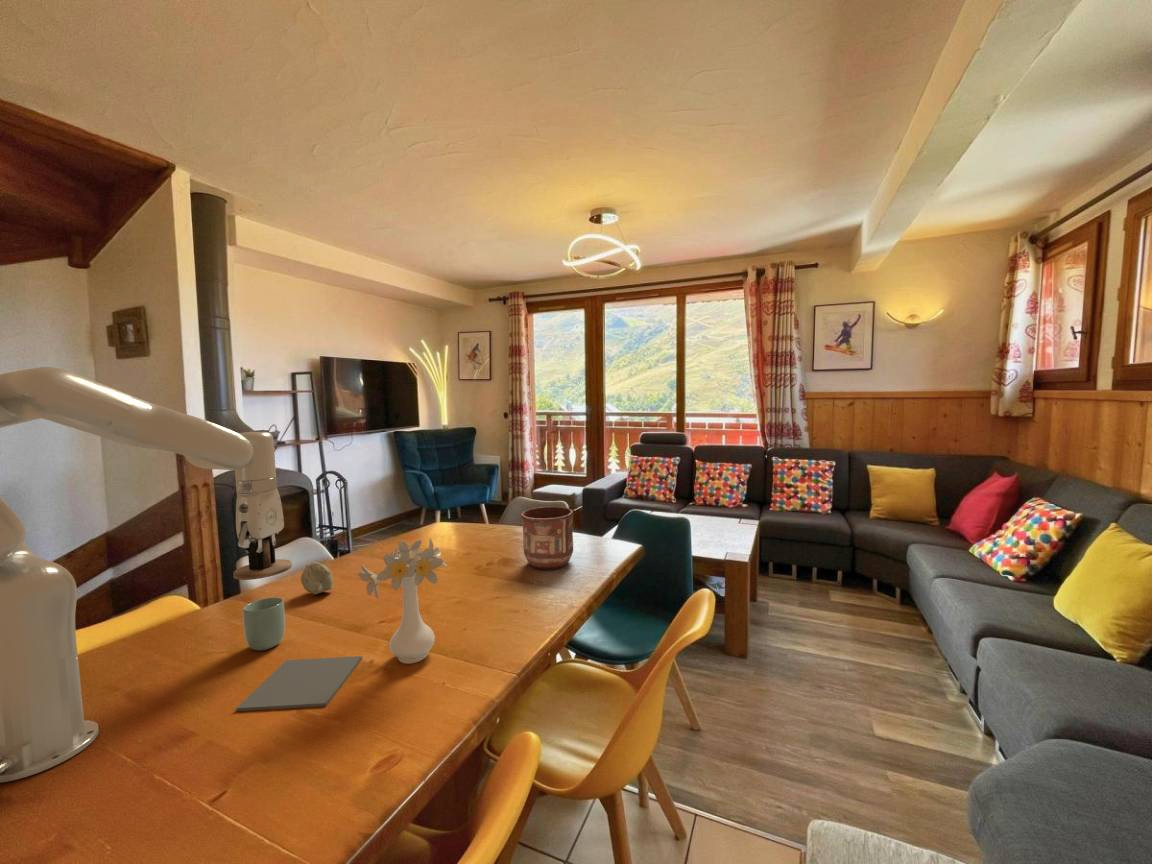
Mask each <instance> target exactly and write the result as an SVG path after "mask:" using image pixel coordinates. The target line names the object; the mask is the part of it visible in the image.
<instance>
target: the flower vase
mask: <svg viewBox="0 0 1152 864" xmlns="http://www.w3.org/2000/svg"><path fill="white" fill-rule="evenodd" d="M428 539H429V543H428V544H429V547H428V548H425V549H424V550H423V551H420V550H419V549H420V547H421V545H422V540H419V539H418V540H416V541H414V542H413V544H411V546H409V544H408V543H407V542H406V541H404V540H400V541H399V542H398V543H397V546H396V548H395V551H391V554H388V553H387V554H384V555H383V563H384V564H385V566H386V567H384V569H383V570H382V571H380V572H379V573H378V574H377V573H374V572H372V571H371V570H369V569H367V568H366V566H364V565H363V564H361V565H360V567H361V570H362V571H363V572H358V573H357V574H358V575H357V576H358V577H359V578H360V579H361V580H362V581H364V582H368V583H367V584H366V593H367V595H368V596H372V594H373V592H374V596H375V597H376V599H377V600H379V598H380V597H379V585H380V584H379V583H380V582H381V581H387V580H390V579H391V582H390V583H391V588H392V590H393V591H398V590H399V588H400V587H401V588H402V616H401V617H402V618H401V622H400V624H399V627H398V628H397V630H396V631H395V632H394V633H393V635H392V637H391V638H390V641H389V651H390V653H391V654H392V655H393V656H394V657H396V658H397V660H398V661H399V662H400V663H401V664H404V665H405V664H407V665H408V664H409V665H410V664H416V663H419V662H421V661H424V660H425V659H426V657H427V656H428V654H429V651H430V650H431V649H432V648H433V646H434V644H435V641H436V637H435V633H434V631H433V630H432V628H431V627H430V626H429V625H428V624H426V623H425V622H424V620H423V619H422V617H421V613H420V610H419V609H420V608H419V598H418V586H419V585H421V584H422V583H423V581H424V579H425V580H427V581H428V582H429V583H431V584H436V583H438V577H437V574H436V573H435V571H433V570H436V569H438V568H439V567H441V566H445V567H448V565H447V564H446V561H444V560H443V559H442V558H441V555H442V551H441V550H440V548H438V547H434V542H433V541H432V538H431V537H429V538H428ZM398 550H399V551H398ZM408 565H409V566H408Z"/></svg>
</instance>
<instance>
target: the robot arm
mask: <svg viewBox="0 0 1152 864" xmlns="http://www.w3.org/2000/svg"><path fill="white" fill-rule="evenodd" d="M39 419H43V420H47V421H50V422H53V423H55V424H56V423H57V424H59V425H63V426H66V427H69V428H72V429H75V430H79V431H81V432H85V433H88V434H92V435H95V436H98V437H100V438H104V439H106V440H110V441H113V442H116V443H120V444H122V445H128V446H131V447H136V448H141V449H148V450H157V451H163V452H169V453H174V454H177V455H182V456H184V457H185V459H186V460H187V461H188V462H189V464H191V465H193V466H194V467H197V468H200V469H204V470H224V471H234V474H235V487H236V505H235V530H236V535H237V536H236V537H237V539H238V542H237V546H238V547H239V548H242V549H244V550H245V552H246V554H247V555H248V558H247V559H248V565H249V569H250V570H263V569H264V568H265V557H264V551H262V540H269V545H270V558H271V564H274V563H275V562H276V561H275V560H276V550H275V546H276V544H277V542H276V539H277V537H278V534H279V533H280V532H281V531H282V530H283V529H284V528H285V520H284V519H285V517H284V511H283V505H282V501H281V500H282V499H281V495H280V493H279V490H278V488H277V487H278V486H277V469H276V456H275V443H274V436H273V434H272V433H270V432H268V431H247V432H246V431H245V432H236V431H234V430H232V429H229V428H227V427H224V426H222V425H219V424H216V423H214V422H211V421H209V420H206V419H202V418H199V417H197V416H194V415H190V414H187V413H184V412H180V411H177V410H174V409H172V408H169V407H166V406H162V405H160V404H155V403H152V402H149V401H147V400H144V399H142V398H139V397H136V396H134V395H131V394H128V393H126V392H123V391H121V390H118V389H116V388H113V387H111V386H109V385H106V384H104V383H101V382H98V381H96V380H94V379H90V378H88V377H86V376H83V375H81V374H78V373H77V372H76V373H75V372H72V371H70V370H67V369H64V368H59V367H55V366H54V367H53V366H40V367H33V368H28V369H22V370H21V369H20V370H15V371H10V372H6V373H0V429H1V428H6V427H10V426H14V425H15V426H16V425H18V424H22V423H27V422H30V421H36V420H39ZM21 520H22V519H20V517H18V515H16V514H15V512H14V511H13V510H12V509H10V507H9V506H8V505H7V504H6V503H5V502H4V500H3V499H2V498H1V497H0V784H1V783H8V782H13V781H17V780H20V779H23V778H28V777H31V776H33V775H36V774H39V773H41V772H44V771H47V770H48V769H51V768H53V767H55V766H58V765H59V764H61V763H64V762H66V761H67V760H69V759H71V758H73V757H75V756H76V755H77V754H79V753H81V752H82V751H84V750H85V749H86V748H87V747H88V746H90V745H91V744H92V743H93V742H94V740H96V738H97V737H98V735H99V724H98V723H97V722H95V721H94V720H93V721H92V720H90V719H89V720H88V719H87V720H86V719H85V718H84V708H83V697H82V685H81V676H80V675H81V674H80V666H79V664H80V662H79V654H78V644H77V637H76V636H77V634H76V612H77V611H76V610H77V608H76V607H77V597H78V587H77V582H76V580H75V578H74V576H73V575H72V573H71V572H70V571H69V570H68V569H67V568H66V567H63V566H62V565H61V564H60V563H59V564H58V563H56V562H54V561H52V560H47V559H44V558H40V557H37V556H36V555H35V553H33V551H32V550H31V549H30V548H29V546H27V544H26V543H25V542H24V540H25V538H26V531H25V527H24V523H23V522H22V521H21ZM255 541H256V545H255V544H254V543H253V542H255Z"/></svg>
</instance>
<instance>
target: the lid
mask: <svg viewBox="0 0 1152 864" xmlns="http://www.w3.org/2000/svg"><path fill="white" fill-rule="evenodd" d="M252 543H254V544H255V545H256V541H253V542H252ZM262 551H264V557H265V568H264V569H263V570H250V569H249V564H247V565H243V566H241V567H239V568H237V569H235V570H234V571H233V574H232V575H233V578H234V579H235V580H241V581H248V580H249V581H250V580H259V579H266V578H269V577H273V576H277V575H279V574H282V573H284V572H287V571H288V570H290V569H291V568H292V565H293V564H292V561H291V560H290V559H284V558H282V559H280V558H279V559H276V558H275V561H276V562H275V563H274V564H271V558H270V545H269V540H262Z"/></svg>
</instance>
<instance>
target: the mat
mask: <svg viewBox="0 0 1152 864" xmlns="http://www.w3.org/2000/svg"><path fill="white" fill-rule="evenodd" d="M362 659H363V656H362V655H359V656H357V655H356V656H341V657H340V656H339V657H323V658H322V657H320V658H317V657H316V658H300V659H286V660H285V661H284V662H283V663H282V664H281V665H280V666H279V667H277V669H276V670H274V672H272V674H270V675H269V676H268V677H267V678H266V679H265V680H264V681H263V682H262V683H261V684H260V685H259V686H258V687H256V689H254V690H253V691H252V692H251V693H250V694H249V695H248V696H247V697H246V698H245V699H244V700H243V701H242V702H241V703H240V704H239V705H238V706H236V708H235V711H236V712H249V711H267V710H279V709H280V710H283V709H300V708H301V709H302V708H315V707H317V708H318V707H328V705H329V703H330V702H331V701H332V700H333V698H334V696H336V694H337V693H338V691H339V690H340V688H341V687H342V686H343V685H344V684H345V683H346V681H347V680H348V678H349V677H350V675H352V673H353V672H354V670H355V669H356V668H357V666H358V665H359V663H361V661H362Z"/></svg>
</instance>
